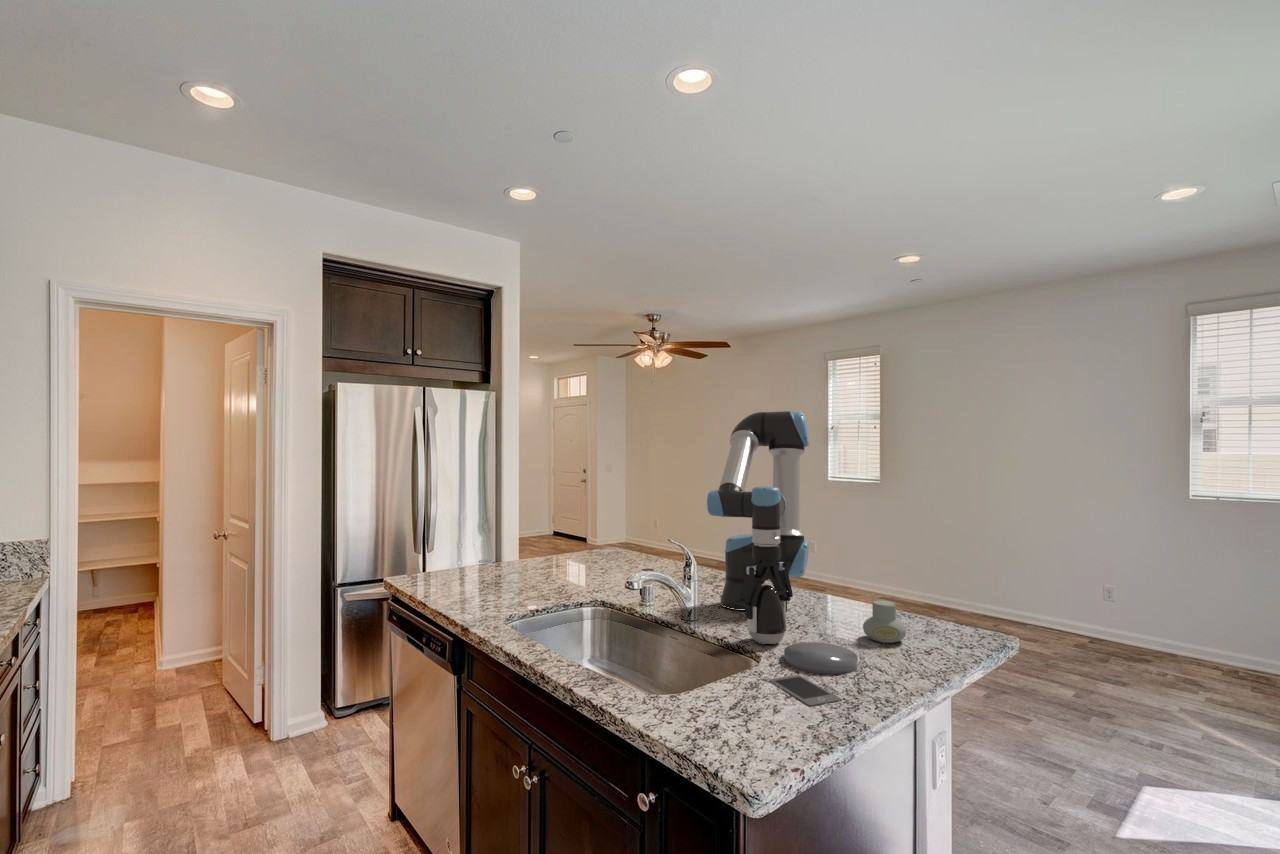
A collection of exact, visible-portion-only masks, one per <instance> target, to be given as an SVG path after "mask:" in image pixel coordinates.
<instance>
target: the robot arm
mask: <svg viewBox="0 0 1280 854" xmlns="http://www.w3.org/2000/svg"><path fill="white" fill-rule="evenodd" d="M807 423H808V422H807V419H806V415H805V414H804V412H802V411H792V410H790V411H789V410H788V411H766V412H765V411H759V412H754V413H751V414H749V415H747V416H745V417H744V418H743V419H742V420H741V421H739V422H738V424H736V426H735V427H734V429H733V431H732V432H731V434H730V438H729V445H730V449H729V452H728V456H727V458H726V463H725V466H724V469H723V472H722V476H721V480H720V483H719V486H718V490H717V489H715V490H710V491H709V492H708V494H707V500H706V507H707V512H708V514H709V515H710V516H712V517H721V518H724V517H725V518H749V519H750V518H751V524H752V525H751V533H746V534H737V535H732V536H729V537H728V538H727V539H726V540H725V548H724V549H725V550H724V554H725V556H724V557H725V561H724V562H725V567H724V568H725V582H724V586H723V590H722V594H721V595H720V599H719V600H720V603H721V604H722V605H723V606H726V607H729V608H734V609H745V610H746V611H745V618H746V621H747V622H746V623H747V627H746V629H747V631H752V632H754V633H755V632H757V614H756V607H755V606H754V604H755V602H756V599H757V596H758V594H759V591H760V589H761V586H762V585H764V584H765V582H766V581H768V580H770V582H771V585H772V587H773V588H774V589H775V590H779V589H782V588H786V592H784V593H782V594H780V595H779V598H780V600H781V603H782V606H783V609H784V614H785V620H786V621H787V612H788V602H790V601H791V598H793V596H794V594H793V593H794V592H793V590H792V589H793V588H792V584H791V581H790V578H801V577H803V576H805V573H806V570H807V565H808V558H809V550H810V548H809V547H810V543H809V541H807V540H805V535H804V534H803V533H802V531H801V530H800V482H801V481H800V473H801V471H800V465H801V464H800V463H801V462H800V461H801V459H800V458H801V456H802V455H803V454H804V453H805V447H806V448H807V447H809V445H810V437H809V436H810V435H809V429H808V428H809V427H808V424H807ZM759 447H768V452H769V453H770V455H772V457H773V458H772V461H773V462H772V486H754V487H753V488H752V490H751V491H750V490H749V491H745V490H746V489H745V488H746V485H747V481H748V476H749V473H750V468H751V464H752V461H753V456H754V452H756V451H757V450H758V449H759ZM720 603H719V604H720Z"/></svg>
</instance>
